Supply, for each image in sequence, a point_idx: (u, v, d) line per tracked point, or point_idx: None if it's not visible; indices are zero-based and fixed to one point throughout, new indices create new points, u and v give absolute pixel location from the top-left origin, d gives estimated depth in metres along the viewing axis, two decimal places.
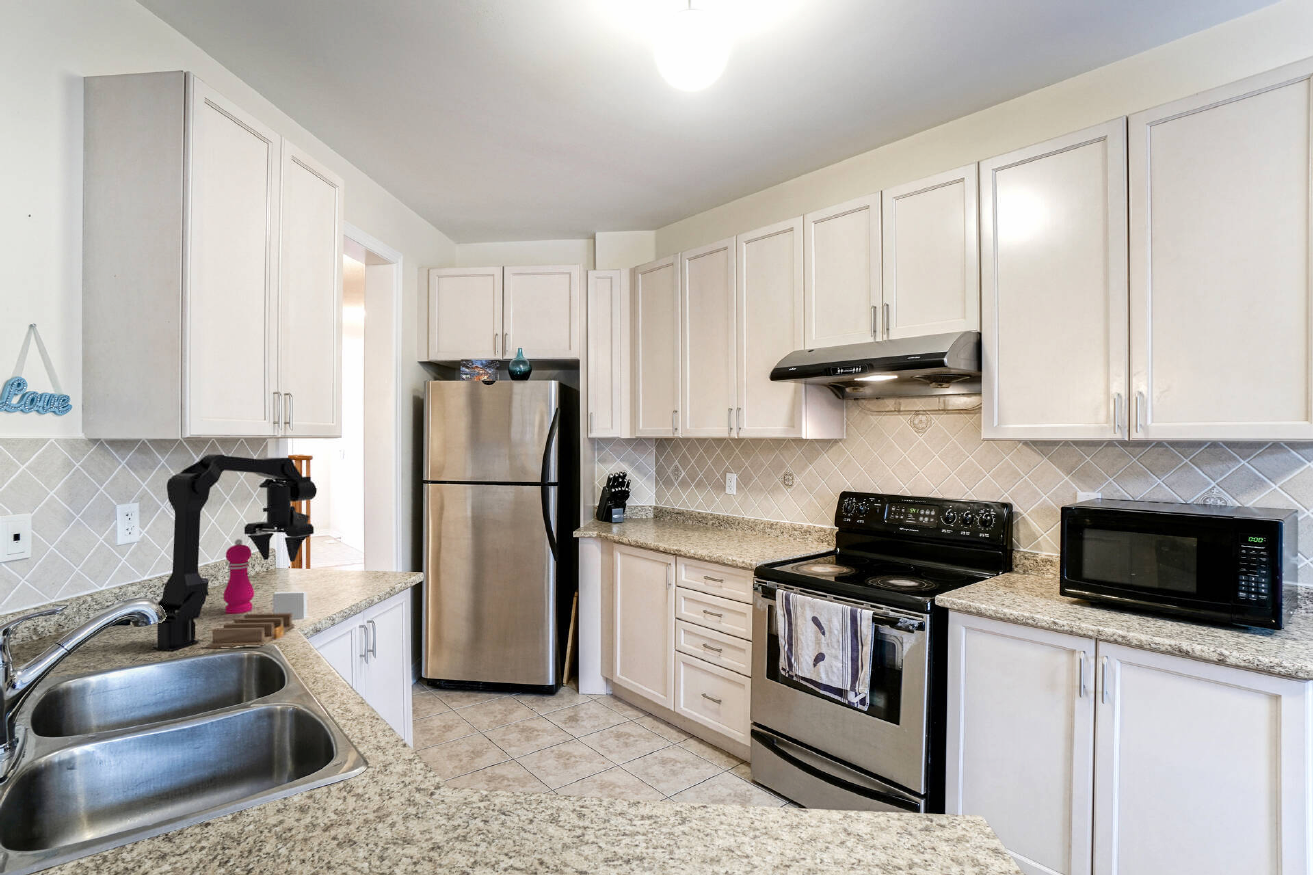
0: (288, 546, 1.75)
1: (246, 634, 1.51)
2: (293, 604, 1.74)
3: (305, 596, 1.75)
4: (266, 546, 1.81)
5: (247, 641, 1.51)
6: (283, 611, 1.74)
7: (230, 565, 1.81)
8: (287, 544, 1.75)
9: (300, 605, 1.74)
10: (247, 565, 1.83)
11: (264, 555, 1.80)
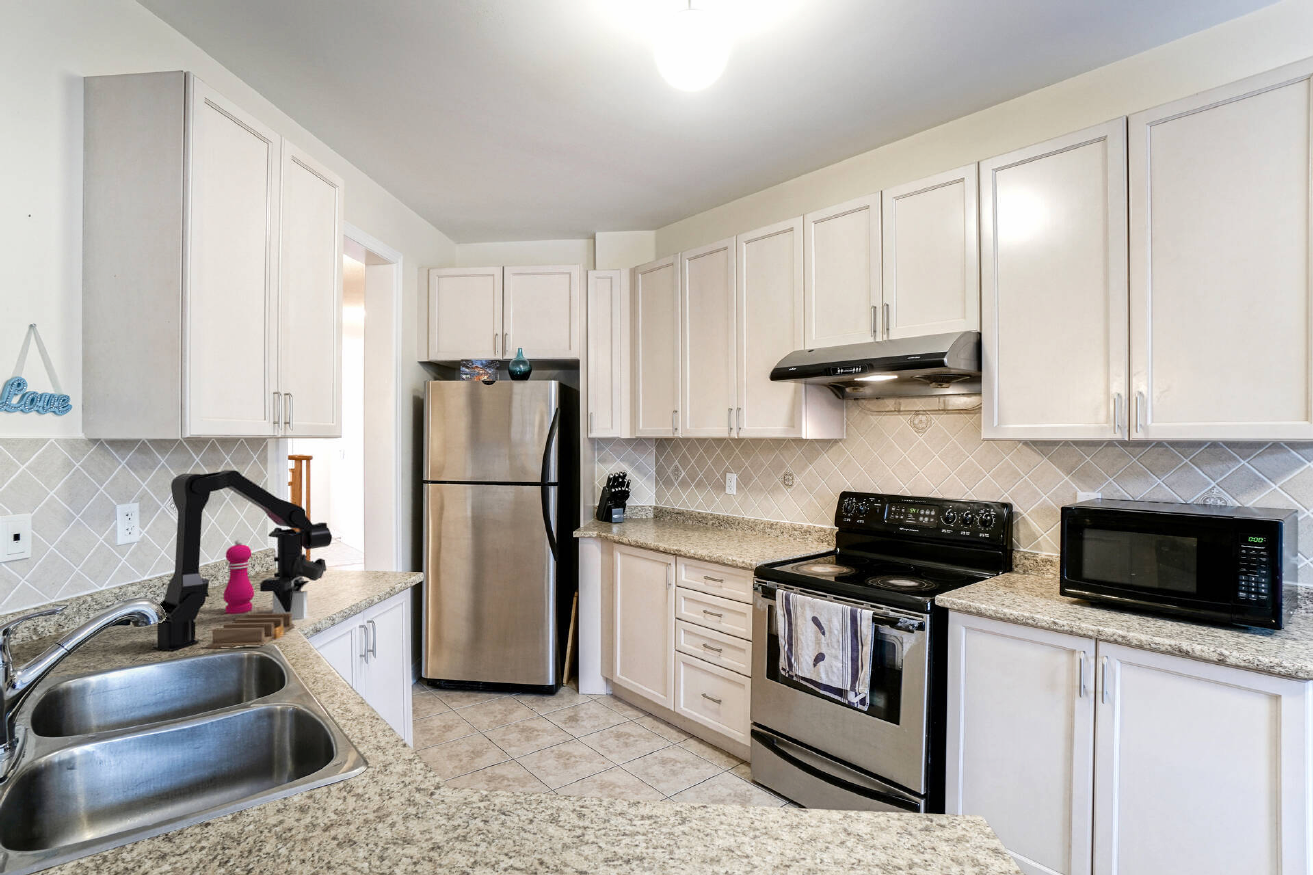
0: None
1: (246, 634, 1.51)
2: (293, 604, 1.74)
3: (305, 596, 1.75)
4: None
5: (247, 641, 1.51)
6: (283, 611, 1.74)
7: (230, 565, 1.81)
8: None
9: (300, 605, 1.74)
10: (247, 565, 1.83)
11: None
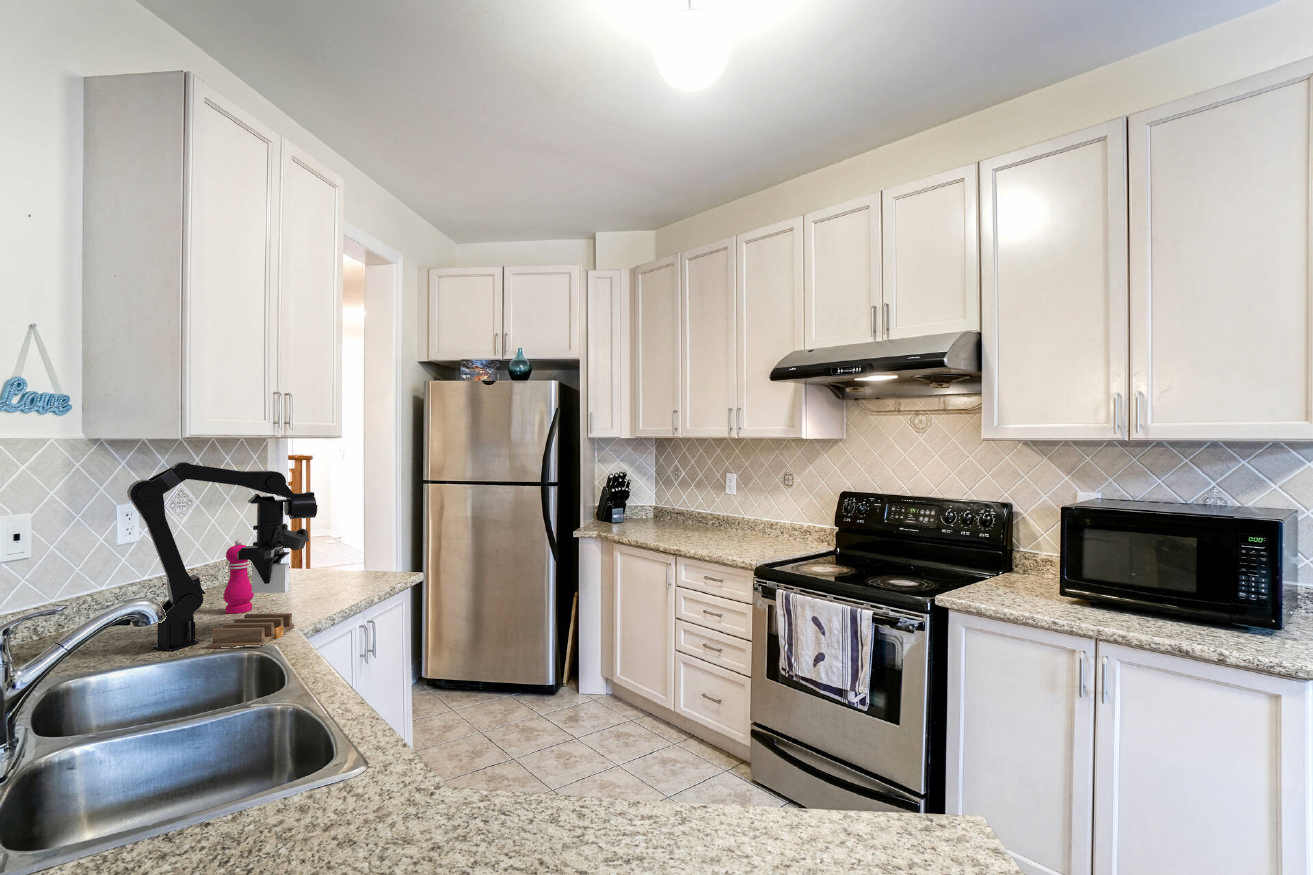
0: None
1: (246, 634, 1.51)
2: (274, 576, 1.65)
3: (287, 568, 1.66)
4: None
5: (247, 641, 1.51)
6: (263, 584, 1.64)
7: (230, 565, 1.81)
8: None
9: (281, 577, 1.65)
10: (247, 565, 1.83)
11: None
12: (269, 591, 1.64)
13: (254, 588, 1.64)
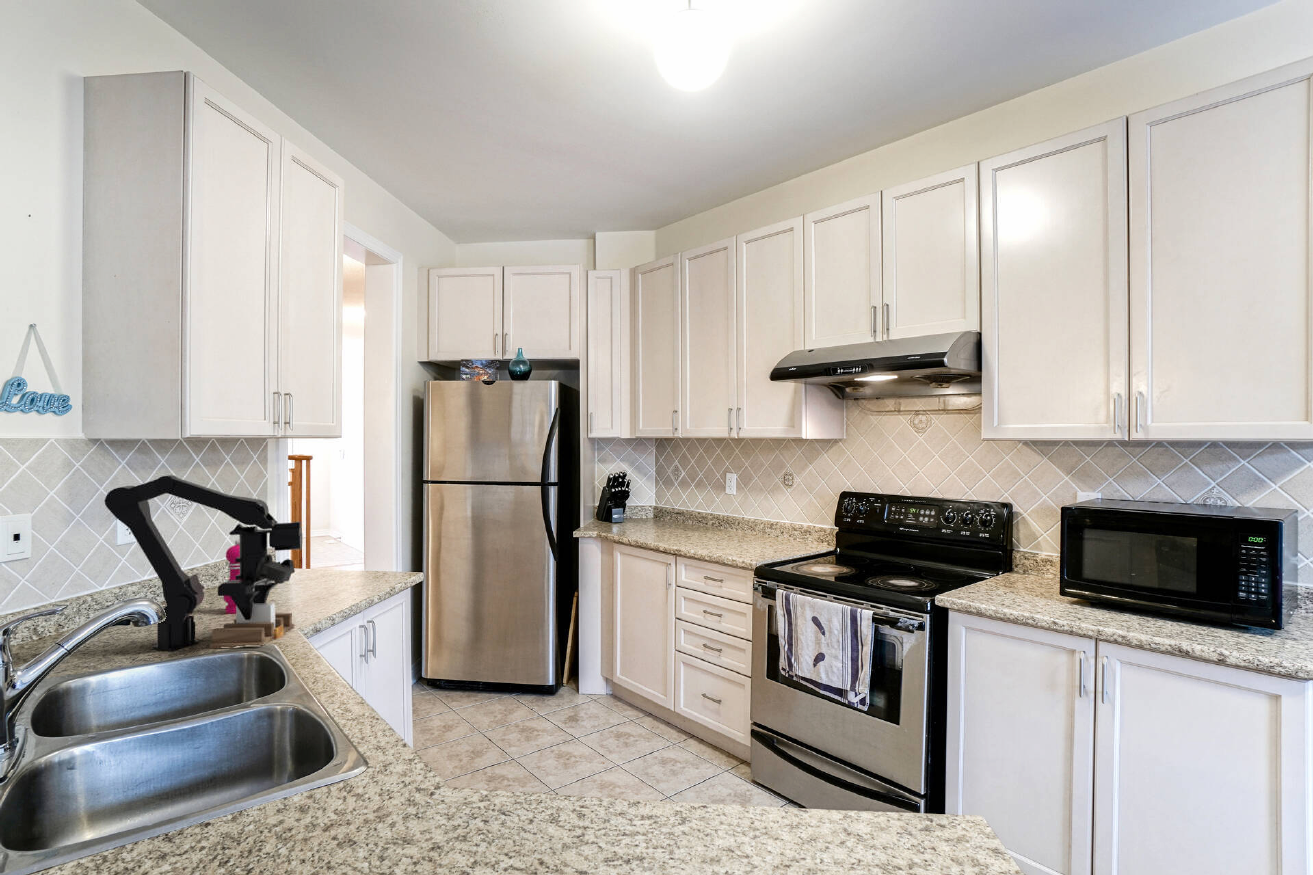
0: None
1: (246, 634, 1.51)
2: (259, 617, 1.57)
3: (272, 609, 1.58)
4: (259, 599, 1.61)
5: (247, 641, 1.51)
6: None
7: (230, 565, 1.81)
8: None
9: (267, 619, 1.57)
10: None
11: None
12: None
13: None
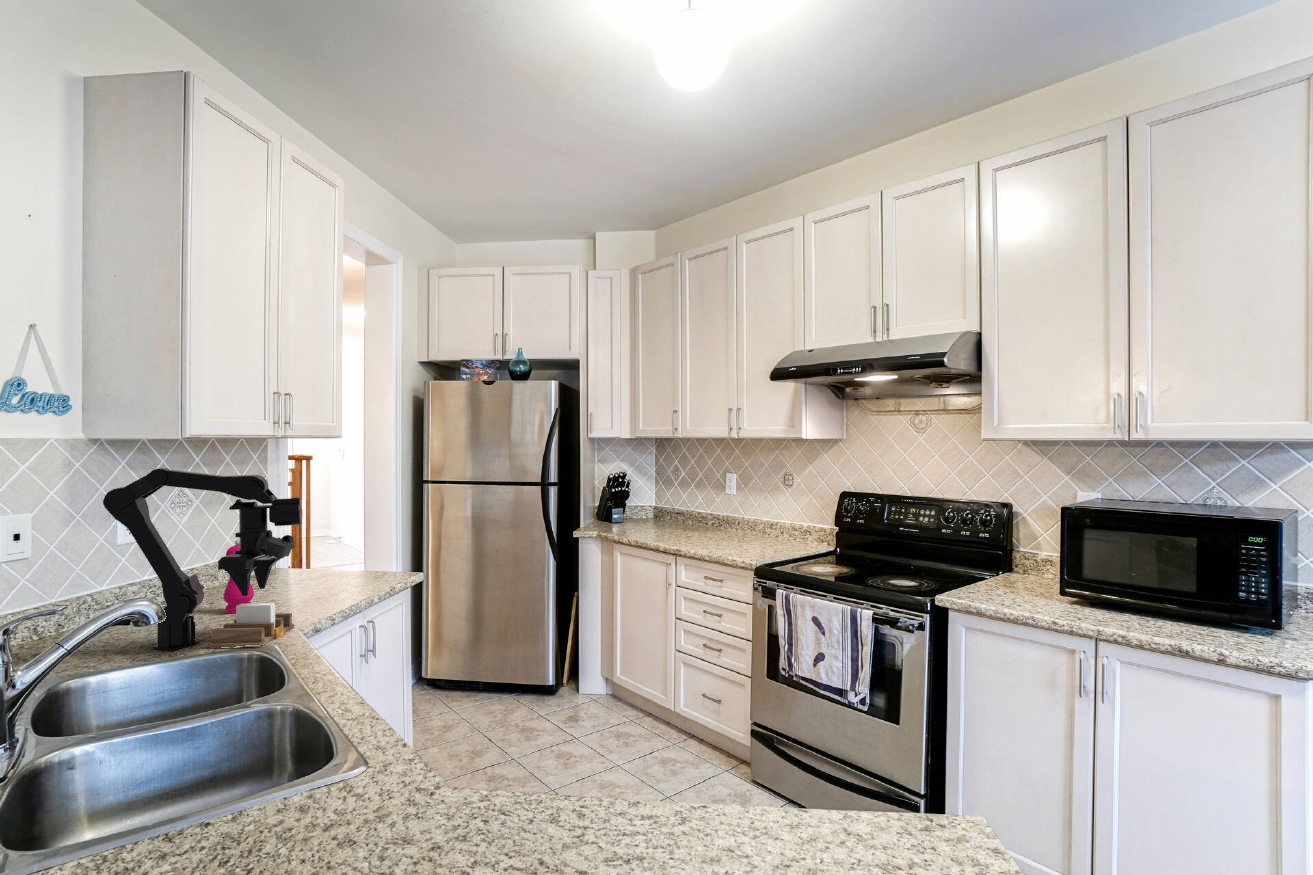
0: None
1: (246, 634, 1.51)
2: (259, 617, 1.57)
3: (272, 609, 1.58)
4: (262, 574, 1.62)
5: (247, 641, 1.51)
6: None
7: None
8: None
9: (267, 619, 1.57)
10: None
11: (258, 583, 1.61)
12: None
13: None
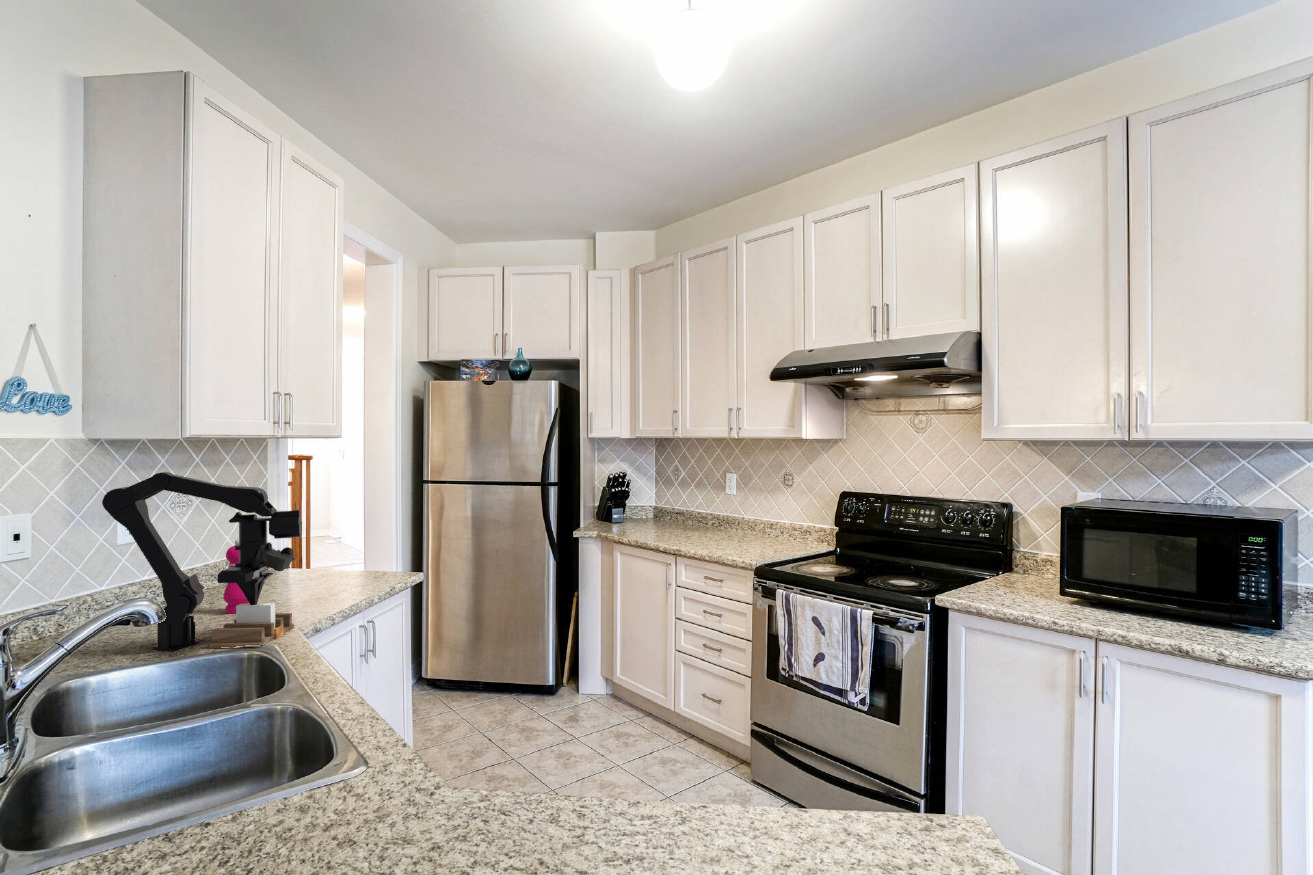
0: None
1: (246, 634, 1.51)
2: (259, 618, 1.57)
3: (272, 609, 1.58)
4: None
5: (247, 641, 1.51)
6: None
7: (230, 565, 1.81)
8: None
9: (267, 619, 1.57)
10: None
11: None
12: None
13: None
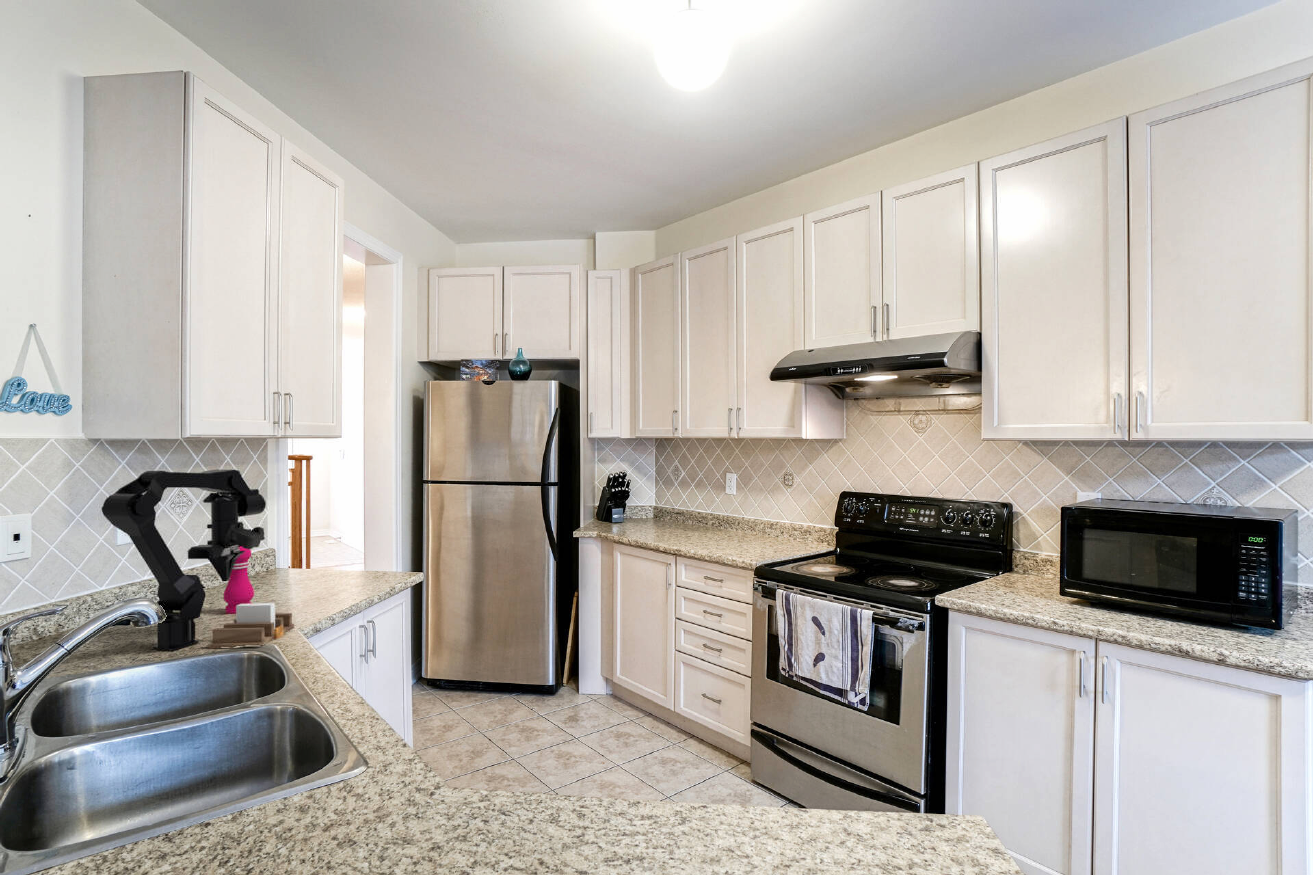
0: None
1: (246, 634, 1.51)
2: (259, 617, 1.57)
3: (272, 609, 1.58)
4: None
5: (247, 641, 1.51)
6: None
7: None
8: None
9: (267, 619, 1.57)
10: (247, 565, 1.83)
11: None
12: None
13: None
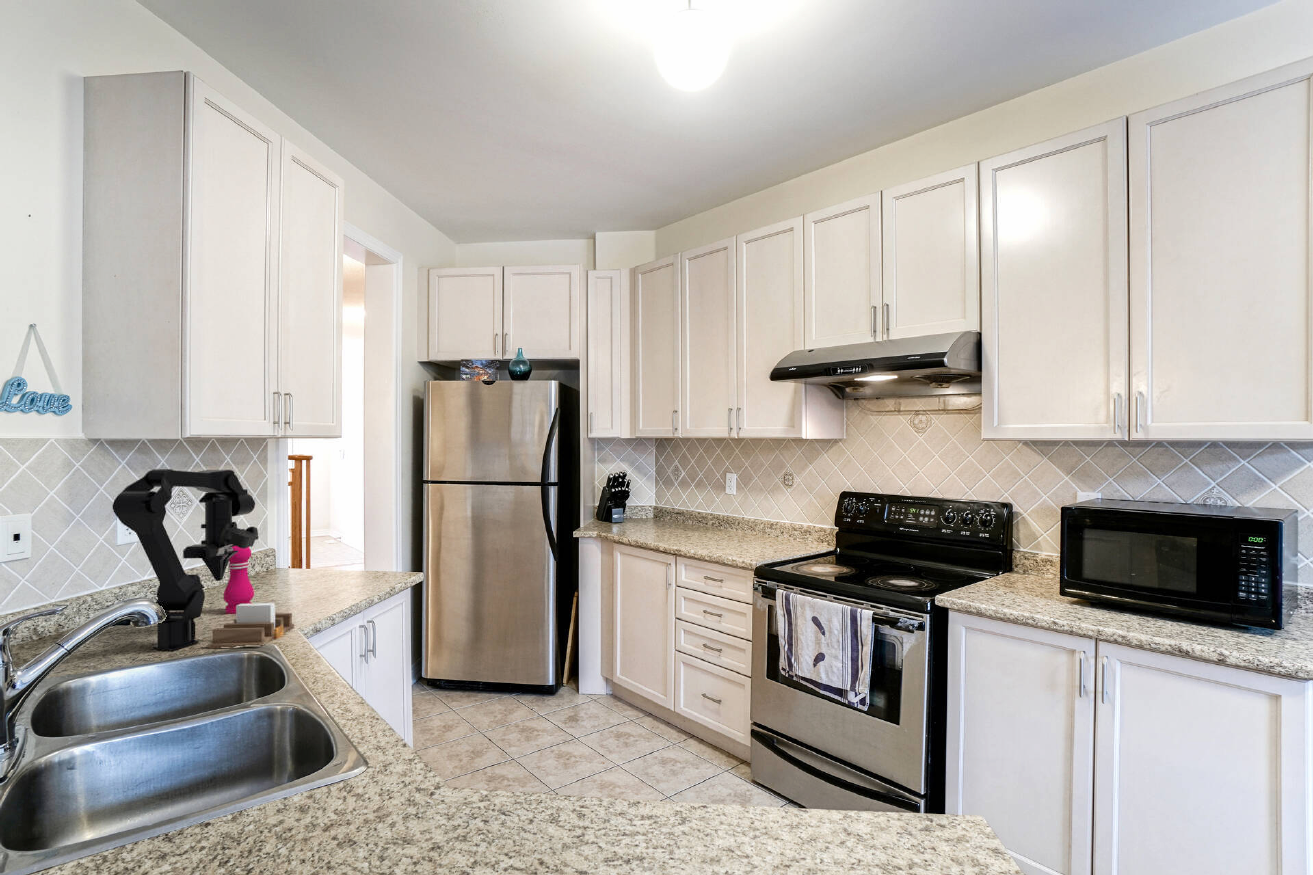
0: None
1: (246, 634, 1.51)
2: (259, 617, 1.57)
3: (272, 609, 1.58)
4: None
5: (247, 641, 1.51)
6: None
7: (230, 565, 1.81)
8: None
9: (267, 619, 1.57)
10: (247, 565, 1.83)
11: None
12: None
13: None
